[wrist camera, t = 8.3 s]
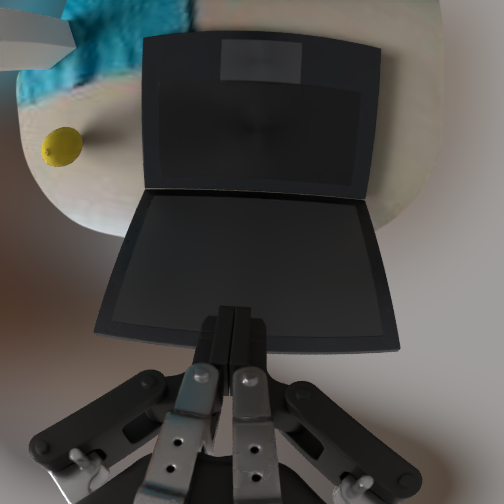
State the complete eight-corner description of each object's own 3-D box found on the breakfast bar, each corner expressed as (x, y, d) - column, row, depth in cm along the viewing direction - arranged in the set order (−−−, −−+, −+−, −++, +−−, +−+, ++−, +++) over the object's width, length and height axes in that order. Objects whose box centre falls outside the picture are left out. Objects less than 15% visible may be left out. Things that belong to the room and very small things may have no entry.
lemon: (98, 139, 37) (67, 150, 30) (78, 166, 39) (48, 181, 32) (76, 116, 35) (43, 123, 28) (58, 143, 37) (26, 155, 30)
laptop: (148, 39, 30) (143, 37, 28) (376, 50, 30) (381, 48, 28) (149, 184, 40) (144, 188, 38) (361, 195, 40) (365, 199, 38)
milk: (77, 48, 30) (-35, 41, 10) (49, 70, 31) (-62, 81, 12) (68, 20, 27) (-38, 3, 8) (40, 42, 28) (-65, 42, 9)
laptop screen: (92, 331, 26) (96, 335, 26) (401, 348, 25) (397, 351, 26) (144, 188, 39) (146, 193, 39) (365, 199, 38) (363, 204, 39)
